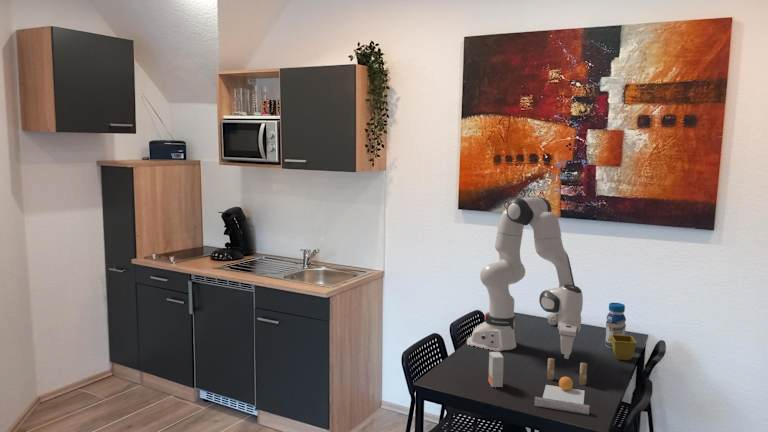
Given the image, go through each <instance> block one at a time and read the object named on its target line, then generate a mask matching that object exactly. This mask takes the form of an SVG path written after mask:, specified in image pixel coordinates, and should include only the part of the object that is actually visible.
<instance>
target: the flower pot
mask: <svg viewBox="0 0 768 432" xmlns="http://www.w3.org/2000/svg"><path fill="white" fill-rule="evenodd" d="M611 340H612V348H611V349H612V352H613V355H614V356H615V358H616V360H618V361H619V360H620V361H630V360H631V359H632V358H633V356H634V354H635V352H636V347H637V341H636V340H635V338H634V337H633V336H632V335H625V336H623V335H611Z"/></svg>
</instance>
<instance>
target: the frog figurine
mask: <svg viewBox="0 0 768 432" xmlns="http://www.w3.org/2000/svg"><path fill="white" fill-rule="evenodd" d="M546 318H547V322H548V324H549V325H550V326H556V325H558V318H559V314H558V313H549V314H548V315H546Z"/></svg>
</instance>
